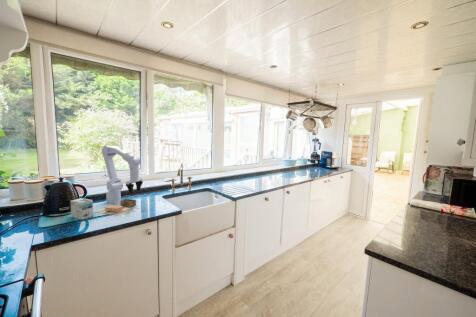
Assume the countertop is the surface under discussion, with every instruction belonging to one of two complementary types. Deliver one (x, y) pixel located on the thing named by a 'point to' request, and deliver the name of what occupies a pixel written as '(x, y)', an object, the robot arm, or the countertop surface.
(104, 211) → the board
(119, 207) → the salmon pink block
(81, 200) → the light bulb box
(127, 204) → the box
